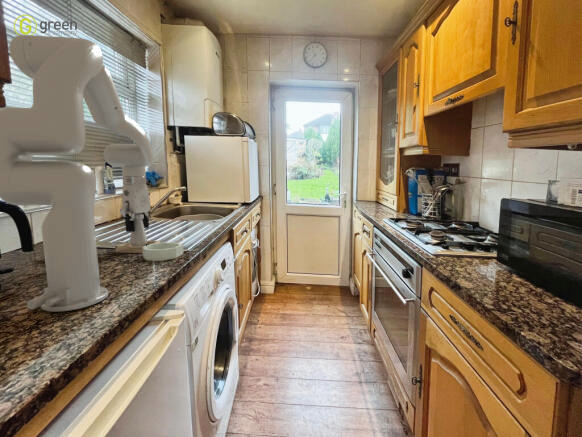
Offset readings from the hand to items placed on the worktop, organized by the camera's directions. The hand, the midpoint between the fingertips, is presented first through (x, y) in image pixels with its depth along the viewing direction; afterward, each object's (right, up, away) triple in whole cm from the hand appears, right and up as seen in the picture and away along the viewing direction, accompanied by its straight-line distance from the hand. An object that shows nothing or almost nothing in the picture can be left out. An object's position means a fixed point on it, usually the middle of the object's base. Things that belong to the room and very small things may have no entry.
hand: (137, 229), depth 110 cm
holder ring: (+13, -9, -7) cm, 17 cm away
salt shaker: (0, -7, +1) cm, 7 cm away
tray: (0, -8, +1) cm, 8 cm away
